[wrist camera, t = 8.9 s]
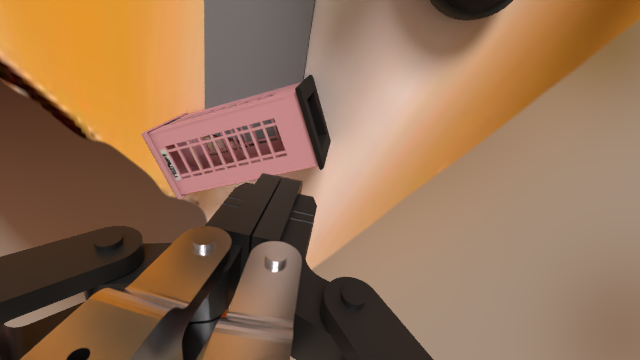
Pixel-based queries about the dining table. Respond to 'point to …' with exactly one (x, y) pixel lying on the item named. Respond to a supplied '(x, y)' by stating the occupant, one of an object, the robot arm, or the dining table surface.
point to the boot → (470, 8)
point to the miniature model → (247, 163)
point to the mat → (254, 50)
